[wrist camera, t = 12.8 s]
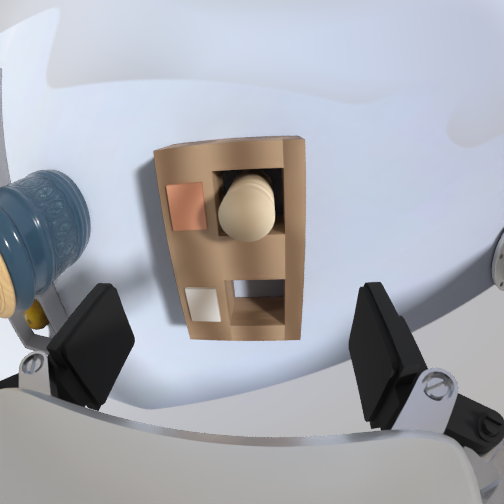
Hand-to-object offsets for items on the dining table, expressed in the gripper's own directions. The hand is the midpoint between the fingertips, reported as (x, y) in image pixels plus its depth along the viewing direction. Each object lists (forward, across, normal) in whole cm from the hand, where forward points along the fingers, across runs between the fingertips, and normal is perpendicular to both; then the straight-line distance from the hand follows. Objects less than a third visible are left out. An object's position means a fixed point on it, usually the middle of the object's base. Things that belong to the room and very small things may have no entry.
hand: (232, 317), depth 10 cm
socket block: (+19, +2, +5) cm, 20 cm away
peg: (+19, +1, 0) cm, 19 cm away
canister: (+19, +26, +1) cm, 32 cm away
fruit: (+19, +41, +16) cm, 48 cm away
